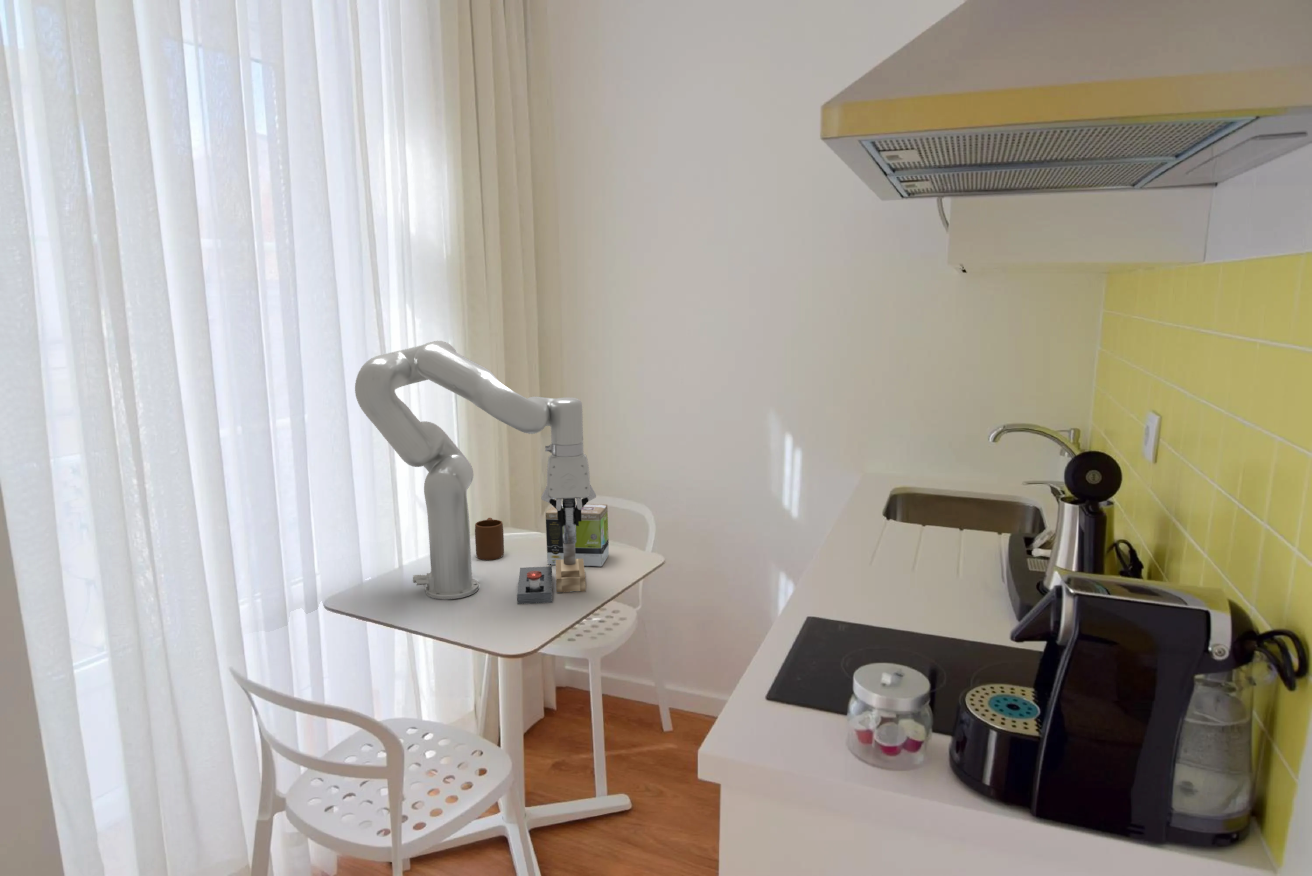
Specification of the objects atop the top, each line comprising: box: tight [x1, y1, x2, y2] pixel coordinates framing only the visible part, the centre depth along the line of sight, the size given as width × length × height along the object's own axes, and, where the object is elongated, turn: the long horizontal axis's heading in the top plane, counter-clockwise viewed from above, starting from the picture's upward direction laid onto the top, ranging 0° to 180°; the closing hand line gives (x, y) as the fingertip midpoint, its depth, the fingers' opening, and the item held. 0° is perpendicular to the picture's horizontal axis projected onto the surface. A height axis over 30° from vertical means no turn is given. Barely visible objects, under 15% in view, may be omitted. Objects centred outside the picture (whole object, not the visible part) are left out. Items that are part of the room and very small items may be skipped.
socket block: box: [516, 565, 553, 605], centre depth 191 cm, size 8×18×2 cm, turn 7°
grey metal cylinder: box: [562, 498, 577, 544], centre depth 189 cm, size 3×3×11 cm
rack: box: [555, 534, 587, 593], centre depth 195 cm, size 7×14×11 cm, turn 7°
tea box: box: [545, 503, 610, 567], centre depth 211 cm, size 15×10×15 cm
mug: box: [474, 517, 505, 561], centre depth 217 cm, size 12×8×9 cm, turn 10°
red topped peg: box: [527, 571, 542, 593], centre depth 184 cm, size 3×3×5 cm
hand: (569, 524), depth 189 cm, fingers closed on grey metal cylinder, 3 cm apart
